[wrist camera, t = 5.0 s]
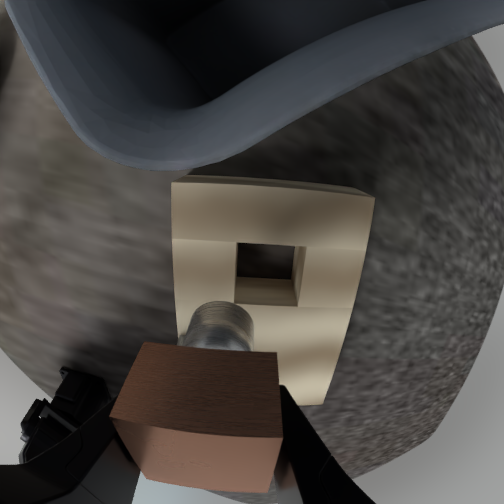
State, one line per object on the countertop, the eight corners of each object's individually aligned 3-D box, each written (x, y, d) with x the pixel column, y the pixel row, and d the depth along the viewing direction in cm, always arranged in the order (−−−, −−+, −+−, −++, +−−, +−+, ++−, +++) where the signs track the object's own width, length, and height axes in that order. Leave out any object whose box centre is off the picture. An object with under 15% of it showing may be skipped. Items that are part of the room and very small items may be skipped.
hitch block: (315, 374, 26) (322, 404, 22) (192, 369, 26) (185, 399, 22) (353, 187, 20) (375, 197, 16) (186, 174, 19) (171, 182, 16)
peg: (265, 362, 13) (267, 492, 7) (181, 357, 13) (146, 479, 7) (271, 290, 11) (282, 437, 5) (173, 284, 11) (109, 416, 5)
